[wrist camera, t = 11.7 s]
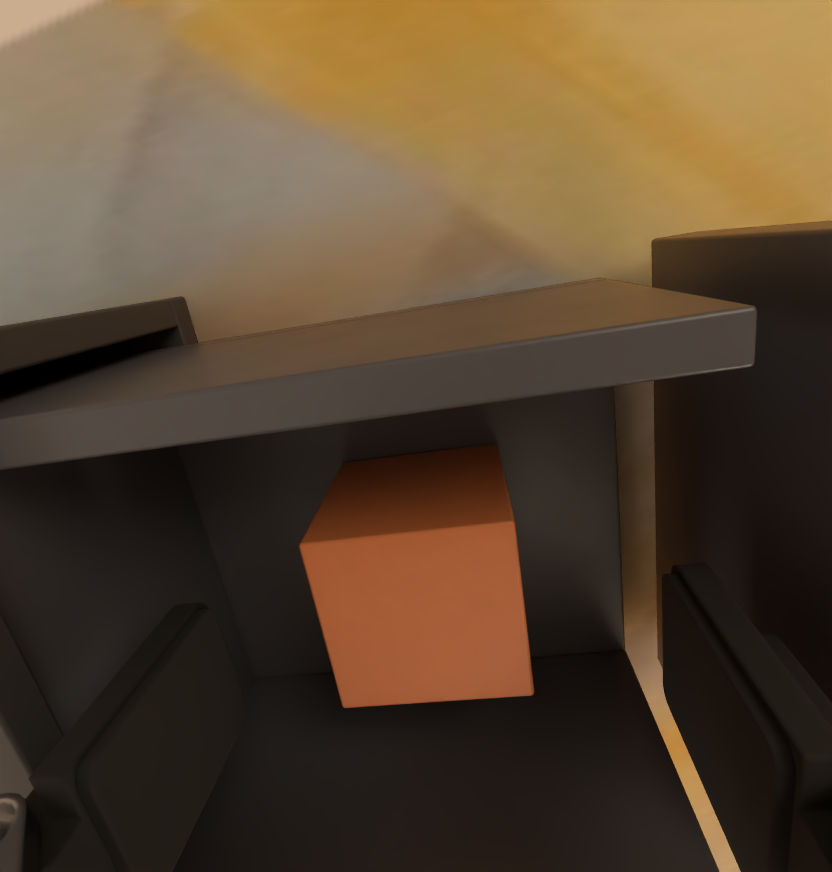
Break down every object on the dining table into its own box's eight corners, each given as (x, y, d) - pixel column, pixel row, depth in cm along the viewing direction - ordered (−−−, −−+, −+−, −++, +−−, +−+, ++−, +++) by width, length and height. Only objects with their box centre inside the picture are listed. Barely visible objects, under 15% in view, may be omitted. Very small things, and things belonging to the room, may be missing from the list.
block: (498, 441, 14) (515, 521, 10) (513, 578, 15) (535, 696, 11) (341, 461, 15) (296, 545, 10) (371, 591, 16) (342, 710, 12)
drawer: (882, 200, 12) (1495, 127, 5) (829, 645, 17) (1120, 952, 9) (134, 327, 15) (-180, 400, 8) (256, 687, 19) (133, 957, 12)
